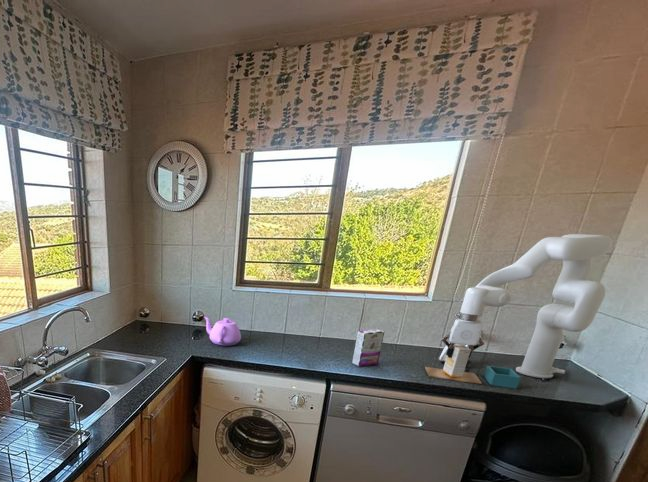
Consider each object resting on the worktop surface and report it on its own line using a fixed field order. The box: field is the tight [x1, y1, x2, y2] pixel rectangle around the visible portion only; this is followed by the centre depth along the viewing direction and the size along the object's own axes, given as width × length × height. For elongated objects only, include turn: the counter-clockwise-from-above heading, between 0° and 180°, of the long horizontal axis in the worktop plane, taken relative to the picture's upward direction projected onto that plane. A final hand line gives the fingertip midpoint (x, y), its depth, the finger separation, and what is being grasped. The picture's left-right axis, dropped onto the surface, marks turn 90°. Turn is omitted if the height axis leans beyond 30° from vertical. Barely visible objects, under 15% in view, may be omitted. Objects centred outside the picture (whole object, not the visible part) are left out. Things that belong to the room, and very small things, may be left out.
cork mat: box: [424, 366, 483, 385], centre depth 179 cm, size 19×13×1 cm
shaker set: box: [438, 341, 469, 363], centre depth 193 cm, size 12×4×11 cm, turn 74°
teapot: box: [203, 316, 242, 347], centre depth 222 cm, size 22×22×14 cm
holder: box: [483, 365, 521, 389], centre depth 171 cm, size 9×12×5 cm
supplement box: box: [442, 343, 471, 378], centre depth 177 cm, size 8×5×13 cm, turn 167°
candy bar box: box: [351, 328, 385, 367], centre depth 190 cm, size 11×5×16 cm, turn 105°
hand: (457, 357), depth 176 cm, fingers closed on supplement box, 5 cm apart
